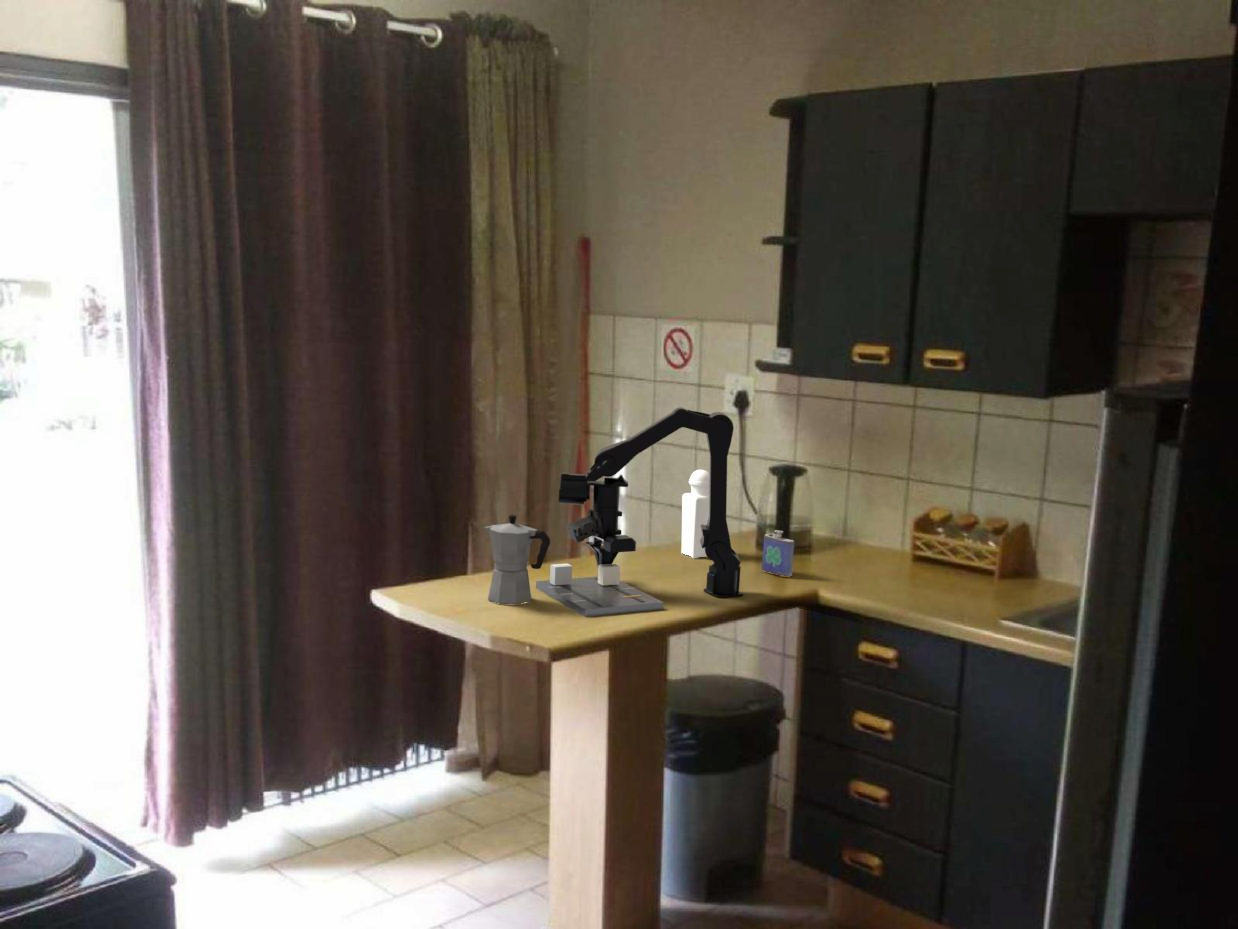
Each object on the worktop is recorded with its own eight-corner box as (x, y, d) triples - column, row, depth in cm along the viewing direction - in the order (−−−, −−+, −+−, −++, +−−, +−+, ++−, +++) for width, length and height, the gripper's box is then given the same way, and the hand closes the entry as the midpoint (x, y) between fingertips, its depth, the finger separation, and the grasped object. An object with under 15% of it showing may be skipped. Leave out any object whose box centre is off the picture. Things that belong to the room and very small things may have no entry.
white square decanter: (692, 559, 285) (697, 472, 282) (678, 553, 291) (683, 468, 288) (714, 557, 288) (719, 471, 285) (699, 552, 294) (704, 467, 291)
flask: (794, 577, 271) (797, 533, 269) (785, 579, 269) (788, 534, 267) (766, 569, 278) (769, 526, 276) (757, 571, 276) (760, 527, 274)
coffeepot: (470, 599, 237) (473, 514, 234) (493, 590, 245) (496, 507, 243) (536, 611, 230) (539, 523, 228) (557, 601, 239) (561, 516, 237)
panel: (608, 582, 257) (609, 575, 257) (663, 609, 237) (663, 601, 236) (535, 588, 249) (536, 580, 249) (585, 616, 228) (585, 608, 228)
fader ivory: (613, 581, 251) (614, 563, 250) (619, 584, 249) (620, 565, 248) (597, 582, 249) (598, 564, 249) (603, 585, 247) (603, 567, 246)
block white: (566, 581, 249) (567, 563, 249) (571, 584, 247) (572, 565, 246) (549, 582, 247) (550, 564, 247) (554, 585, 245) (555, 566, 244)
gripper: (554, 500, 254) (551, 568, 256) (591, 515, 237) (588, 588, 240) (599, 498, 259) (596, 565, 261) (638, 512, 243) (635, 584, 245)
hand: (602, 575), depth 252 cm, fingers closed
